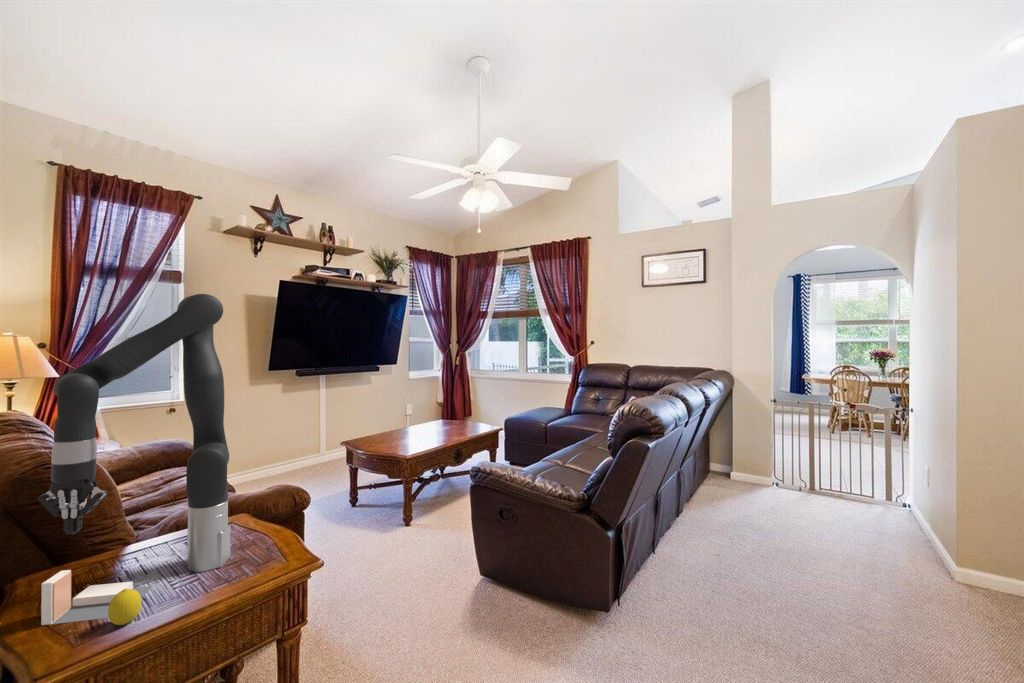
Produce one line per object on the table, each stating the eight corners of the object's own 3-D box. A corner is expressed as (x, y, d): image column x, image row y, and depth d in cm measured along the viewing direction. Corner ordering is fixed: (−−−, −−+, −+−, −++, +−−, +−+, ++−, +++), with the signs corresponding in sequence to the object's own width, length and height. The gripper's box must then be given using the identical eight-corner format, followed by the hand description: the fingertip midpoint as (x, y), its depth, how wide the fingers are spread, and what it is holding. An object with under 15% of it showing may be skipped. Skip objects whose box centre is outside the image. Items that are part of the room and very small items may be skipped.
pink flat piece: (71, 608, 102) (72, 569, 102) (52, 623, 97) (53, 582, 97) (60, 609, 102) (61, 570, 102) (41, 625, 96) (41, 583, 96)
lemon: (121, 618, 100) (121, 582, 100) (147, 617, 100) (147, 581, 100) (100, 634, 94) (101, 596, 94) (128, 633, 95) (128, 595, 95)
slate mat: (153, 588, 112) (153, 585, 112) (121, 618, 100) (121, 616, 100) (82, 595, 108) (82, 592, 108) (40, 628, 96) (40, 625, 96)
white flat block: (89, 594, 108) (132, 589, 110) (72, 607, 102) (118, 602, 105) (89, 585, 108) (132, 581, 110) (72, 598, 102) (118, 594, 105)
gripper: (118, 453, 109) (116, 524, 109) (53, 455, 106) (51, 528, 106) (97, 461, 102) (95, 537, 102) (26, 464, 99) (24, 542, 99)
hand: (72, 532), depth 104 cm, fingers closed
